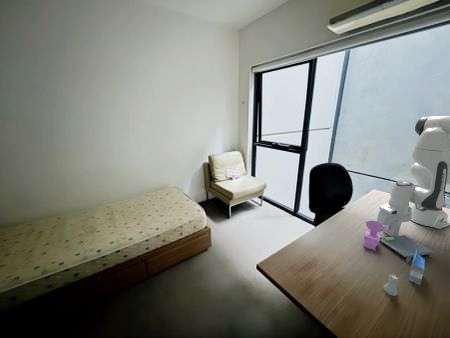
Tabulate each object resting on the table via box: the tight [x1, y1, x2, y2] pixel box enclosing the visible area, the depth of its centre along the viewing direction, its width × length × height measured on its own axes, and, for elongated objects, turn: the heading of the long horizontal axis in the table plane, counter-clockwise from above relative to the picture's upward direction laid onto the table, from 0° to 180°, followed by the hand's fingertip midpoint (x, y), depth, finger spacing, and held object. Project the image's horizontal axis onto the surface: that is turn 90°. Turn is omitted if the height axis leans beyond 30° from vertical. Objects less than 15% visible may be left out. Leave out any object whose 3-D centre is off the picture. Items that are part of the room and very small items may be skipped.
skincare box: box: [382, 220, 403, 237], centre depth 112 cm, size 6×4×12 cm
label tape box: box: [408, 250, 426, 286], centre depth 83 cm, size 9×4×12 cm, turn 133°
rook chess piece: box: [383, 273, 400, 297], centre depth 77 cm, size 4×4×8 cm
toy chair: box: [363, 220, 385, 252], centre depth 102 cm, size 8×9×15 cm
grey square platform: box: [379, 236, 433, 264], centre depth 101 cm, size 17×16×4 cm
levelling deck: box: [380, 234, 434, 258], centre depth 100 cm, size 16×14×3 cm
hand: (391, 228), depth 112 cm, fingers closed on skincare box, 4 cm apart
